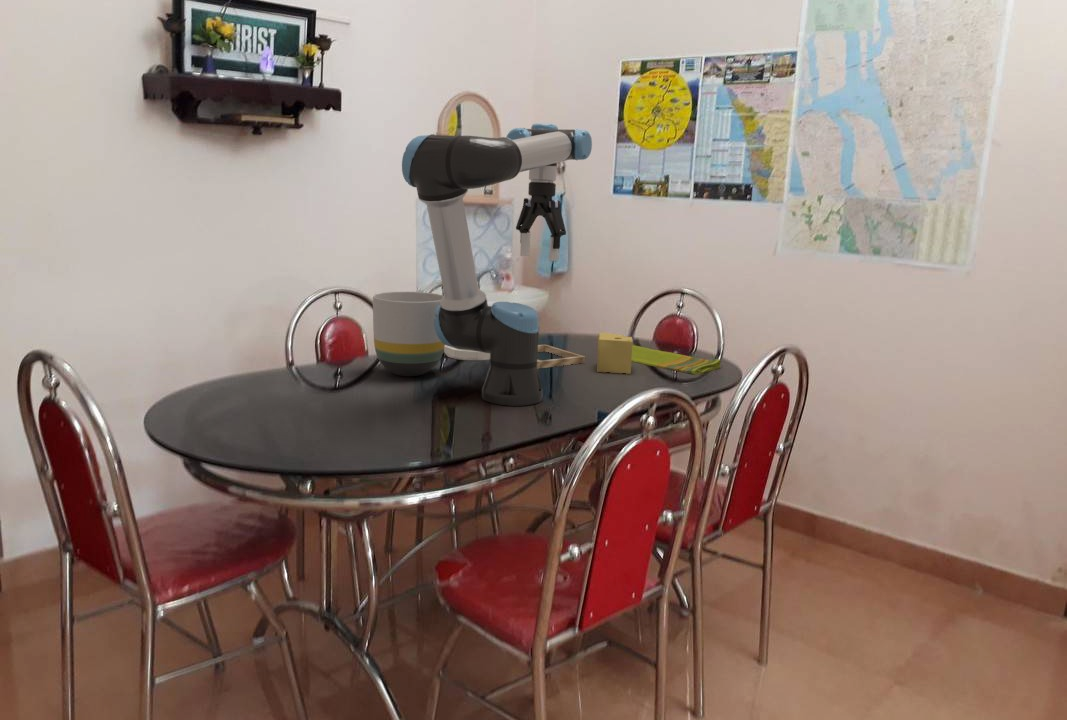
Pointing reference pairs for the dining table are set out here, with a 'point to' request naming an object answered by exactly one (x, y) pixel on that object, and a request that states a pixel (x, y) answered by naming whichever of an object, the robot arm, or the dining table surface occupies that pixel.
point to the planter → (406, 331)
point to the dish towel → (673, 361)
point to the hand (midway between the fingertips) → (538, 258)
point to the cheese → (614, 353)
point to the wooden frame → (567, 360)
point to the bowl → (465, 354)
